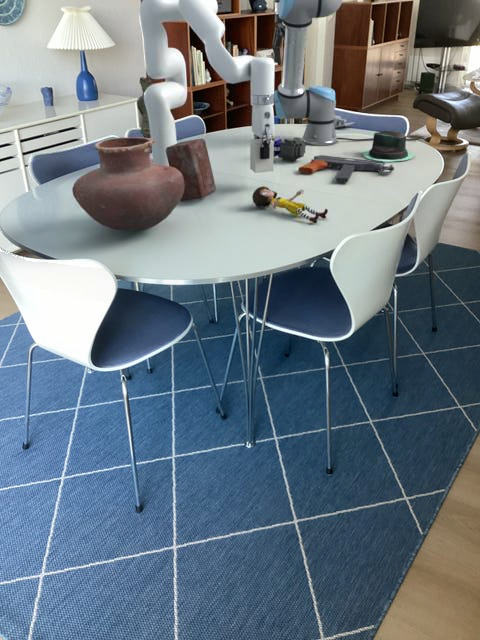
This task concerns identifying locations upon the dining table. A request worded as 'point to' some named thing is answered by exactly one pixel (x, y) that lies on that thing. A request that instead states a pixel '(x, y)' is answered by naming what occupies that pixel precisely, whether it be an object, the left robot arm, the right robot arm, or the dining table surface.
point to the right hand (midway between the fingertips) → (282, 63)
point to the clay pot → (128, 186)
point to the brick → (255, 161)
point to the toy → (288, 148)
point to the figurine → (284, 203)
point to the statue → (144, 108)
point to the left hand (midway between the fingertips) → (261, 156)
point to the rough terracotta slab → (192, 168)
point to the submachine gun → (343, 166)
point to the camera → (338, 120)
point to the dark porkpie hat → (388, 147)
